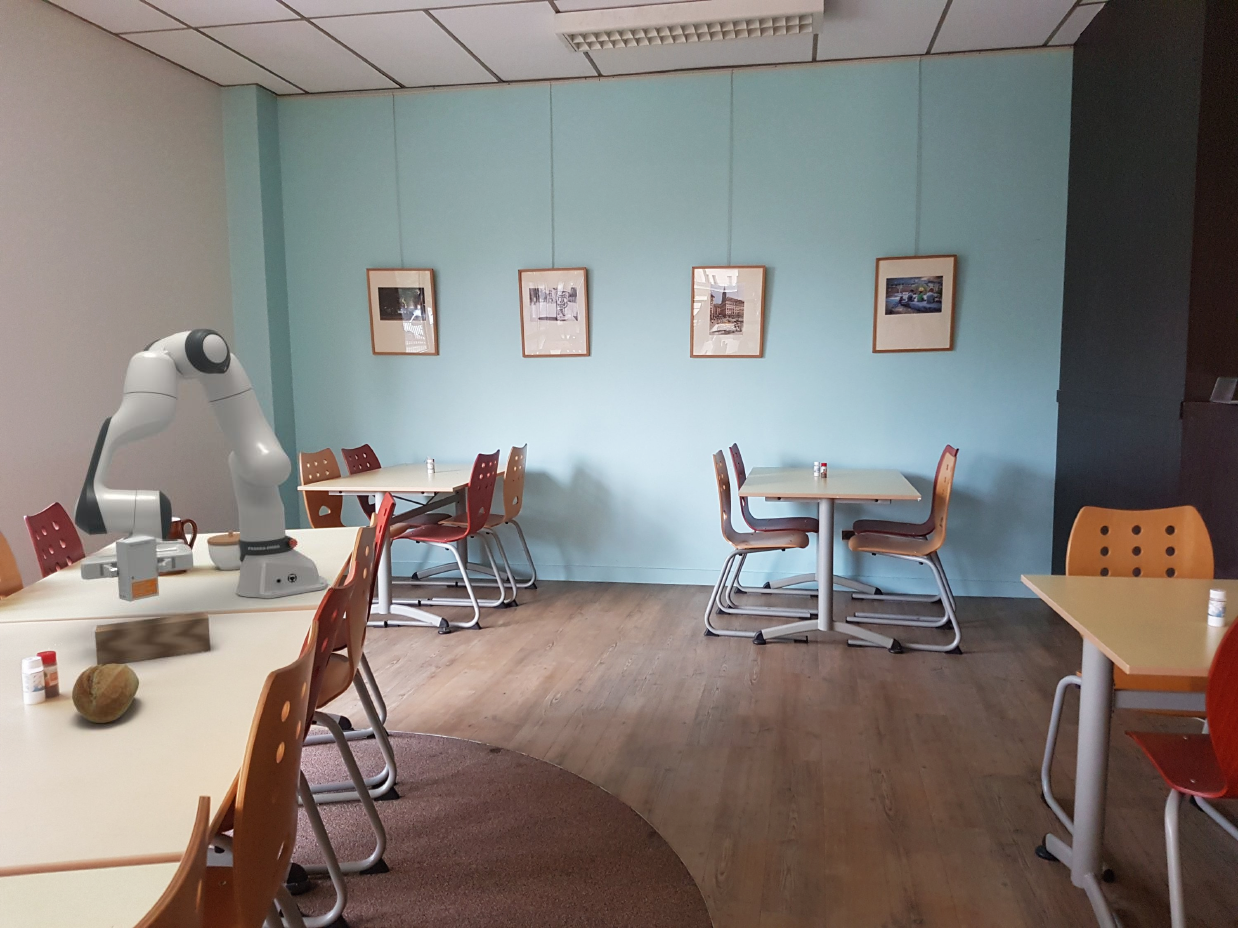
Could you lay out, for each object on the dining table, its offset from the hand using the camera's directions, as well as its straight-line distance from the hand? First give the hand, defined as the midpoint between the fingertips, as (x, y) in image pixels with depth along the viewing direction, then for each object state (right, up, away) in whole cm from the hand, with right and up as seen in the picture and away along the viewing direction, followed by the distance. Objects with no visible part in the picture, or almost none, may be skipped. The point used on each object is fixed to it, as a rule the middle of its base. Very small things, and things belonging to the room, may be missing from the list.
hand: (137, 571), depth 168 cm
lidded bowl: (-18, -9, +81) cm, 84 cm away
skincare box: (0, -6, +1) cm, 6 cm away
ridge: (+2, -18, +4) cm, 18 cm away
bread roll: (+9, -21, -25) cm, 34 cm away
